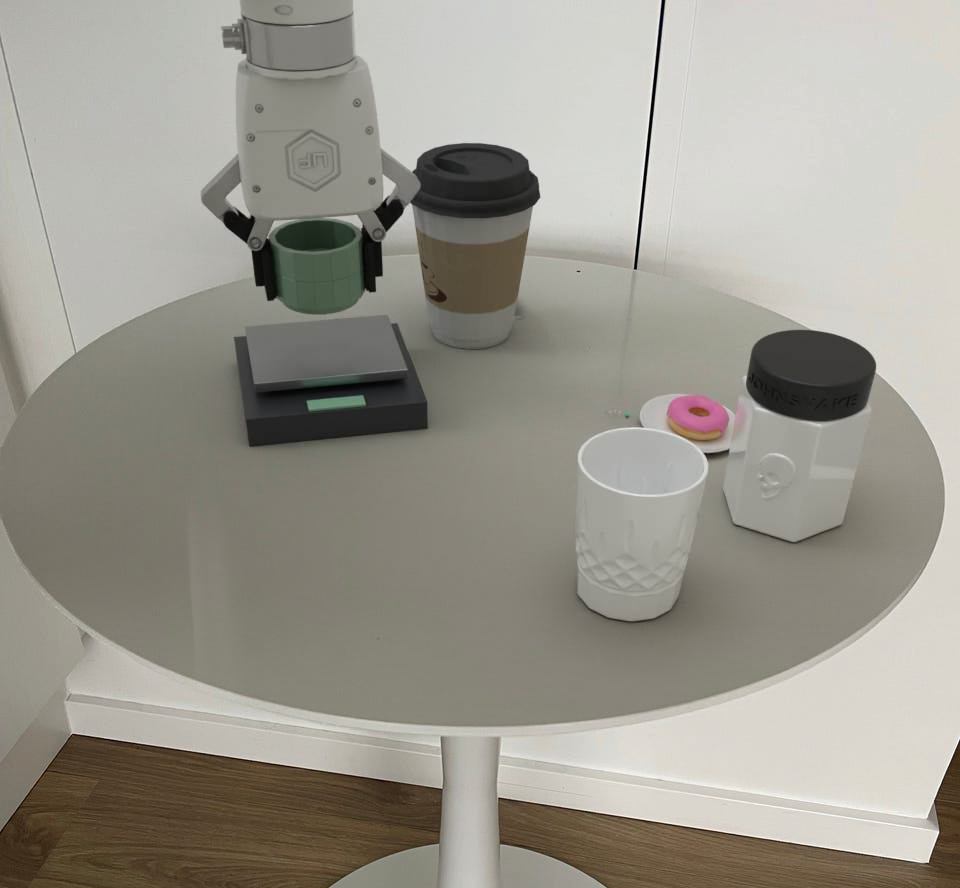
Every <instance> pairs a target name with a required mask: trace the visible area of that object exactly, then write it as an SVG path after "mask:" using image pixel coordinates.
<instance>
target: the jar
mask: <svg viewBox="0 0 960 888" xmlns="http://www.w3.org/2000/svg"><path fill="white" fill-rule="evenodd" d="M876 372H877V362H876V360H875V357H874V356H873V355H872V353H871V352H870V350H868V349H867V348H865V347H864V346H862V345H861V344H860V343H858V342H856V341H854V340H852V339H849V338H847V337H845V336H842V335H838V334H835V333H833V332H832V333H831V332H827V331H820V330H811V329H788V330H787V329H786V330H781V331H776V332H773V333H770V334H767V335H765V336H762V337H761V338H760V339H759V340H757V341H756V342H755V343H754V344H753V346H752V349H751V351H750V358H749V364H748V368H747V374H745V375H743V376H742V377H741V382H740V389H739V394H738V400H737V405H736V410H735V411H736V412H735V415H736V416H735V422H734V428H733V433H732V439H731V445H730V449H728V450H729V451H728V456H727V462H726V468H725V474H724V479H723V485H722V491H723V493H724V497H725V500H726V504H727V507H728V511H729V515H730V517H731V521H732V523H733V525H736V526H739V527H742V528H745V529H749V530H752V531H756V532H759V533H761V534H765V535H768V536H772V537H774V538H778V539H781V540H784V541H787V542H790V543H797V542H800V541H803V540H805V539H807V538H810V537H812V536H815V535H818V534H821V533H823V532H825V531H828V530H831V529H834V528H837V527H839V526H841V525H843V523H844V519H845V515H846V511H847V507H848V504H849V500H850V496H851V492H852V488H853V484H854V480H855V477H856V473H857V469H858V465H859V462H860V458H861V453H862V450H863V446H864V443H865V439H866V435H867V431H868V427H869V424H870V419H871V417H872V412H873V410H872V407H871V405H870V403H869V398H870V395H871V391H872V388H873V383H874V380H875V377H876V376H875V375H876Z"/></svg>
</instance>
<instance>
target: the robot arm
mask: <svg viewBox="0 0 960 888" xmlns="http://www.w3.org/2000/svg"><path fill="white" fill-rule="evenodd" d="M239 6H240V18H237V19H236V21H237V23H231V25H223V26H222V25H221V26H220V29H221V39H222V45H223V46H222V47H223V49H234V50H235V51H240V52H241V55H245V58H244V59H242V60H240V61H239V62H238V64H237V68H236V69H237V70H236V80H235V126H236V127H235V130H236V131H235V132H236V147H237V154H236V155H235V156H234V157H233V158H232V159H231V160H230V161H229V162H227V164H226V165H225V166H224V167H223V168H222V169H221V170H219V172H218V173H217V174H216V175H215V176H214V177H212V178H211V180H209V182H208V183H206V184H205V186H204V187H203V188H201V190H200V201H201V204H203V206H204V207H205V208H207V209H208V211H210V212H211V213H212V215H214V216H215V217H216V218H217V219H218V220H219V221H220V222H222V224H223V225H224V227H225V228H226V229H227V230H229V231H230V232H231V233H233V234H234V235H235V236H236V237H237V238H239V239H240V240H241V241H242V242H244V243H245V244H246V245H247V247H248V249H250V252H251V258H252V259H251V260H252V268H253V277H254V284H255V287H257V288H258V287H264V291H265V296H266V301H267V302H272V301H275V299H277V298H276V290H275V280H274V271H273V261H272V252H271V248H270V243H269V234H270V231H271V229H272V227H273V225H274V222H277V221H295V220H300V219H311V218H335V217H351V216H357V217H358V219H359V220H360V222H361V226H362V227H361V228H360V230H361V232H362V235H363V250H364V270H365V288H366V289H365V292H368V293H369V294H371V293H377V282H376V281H377V279H376V278H379V277H381V278H382V277H383V276H384V268H383V266H384V265H383V244H382V243H383V241H384V240H385V238H386V236H387V233H388V231H389V230H390V229H391V228H392V227H393V226H394V225H395V224H396V222H397V221H398V220H400V218H401V217H402V216H403V215H404V211H405V209H406V207H407V206H409V205H410V204H411V203H410V202H411V201H412V199H413V198H414V196H415V195H416V194H417V192H418V191H419V190H420V188H421V184H420V181H419V179H418V177H417V176H416V175H415V174H414V173H413V172H412V171H411V169H409V168H407V167H406V166H405V165H404V164H402V163H401V162H399V161H398V160H397V159H396V158H394V157H393V156H392V155H391V154H389V153H388V152H386V151H385V150H384V149H383V148H381V138H380V129H379V120H378V112H377V104H376V97H375V92H374V87H373V80H372V77H371V73H370V69H369V65H368V63H367V61H365V60H364V58H362V57H361V56H359V55H357V54H356V53H357V51H356V34H355V33H356V32H355V16H354V15H355V14H354V12H355V11H354V0H239ZM384 177H386V178H387V179H388V180H390V181H391V182H392V183H394V184H395V186H394V188H393V189H392V192H391V193H390V194H389V195H388V196H387V197H385V198H384ZM239 185H241V192H242V197H243V201H244V205H245V206H246V209H247V211H248V213H249V216H246V215H245V214H244V212H241V210H239V209H238V208H237V207H235V206H234V205H233V204H231V203H230V201H229V200H228V199H227V196H228V195H229V194H231V192H233V191H234V189H236V187H237V186H239Z"/></svg>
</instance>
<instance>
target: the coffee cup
mask: <svg viewBox="0 0 960 888" xmlns="http://www.w3.org/2000/svg"><path fill="white" fill-rule="evenodd" d="M411 172H413V173H414V174H415V175H416V176H417V177H418V179H419V181H420V184H421V188H420V190H419V191H418V192H417V194H416V195H415V196H414V198H413V199H412V201H411V202H410V203H409V204H411V208H412V214H413V219H414V220H413V222H414V228H415V234H416V241H417V248H418V255H419V262H420V268H421V275H422V282H423V289H424V296H425V302H426V310H427V317H428V324H429V326H430V327H431V331H432V335H433V336H434V338H435V339H436V340H437V341H438V342H440V343H442V344H443V345H446V346H449V347H452V348H456V349H462V348H463V350H480V349H488V348H492V347H495V346H498V345H500V344H502V343H503V342H505V341H506V340H507V339H508V338H509V336H510V334H511V329H512V327H513V326H514V323H515V317H516V309H517V304H518V299H519V292H520V286H521V280H522V274H523V270H524V269H523V268H524V263H525V256H526V251H527V246H528V245H527V244H528V237H529V232H530V227H531V220H532V215H533V208H534V206H536V204H537V203H538V202H539V200H540V199H541V192H540V183H539V177H538V176H537V175H536V174H534V172H532V171H531V170H530V162H529V159H528V158H527V157H526V156H524V154H522V152H519V151H517V150H515V149H513V148H510V147H507V146H506V147H505V146H503V145H498V144H491V143H483V142H462V143H461V142H460V143H451V144H450V143H449V144H444V145H440V146H436V147H433V148H431V149H428V150H427V151H424V152H423V153H422V154H421V155H420V156H419V157H418V158H417V159H416V166H415V169H413V170H412V171H411Z"/></svg>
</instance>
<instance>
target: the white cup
mask: <svg viewBox="0 0 960 888" xmlns="http://www.w3.org/2000/svg"><path fill="white" fill-rule="evenodd" d="M576 460H577V463H576V464H577V465H576V466H577V467H576V500H575V534H574V535H575V556H576V591H577V595H578V597H579V598H580V599H581V600H582V602H583V603H584V604H585V605H586V606H587V608H589V609H590V610H591V611H594V612H596V613H598V614H600V615H602V616H604V617H606V618H608V619H614V620H620V621H625V622H637V621H645V620H646V621H647V620H654V619H656V618H658V617H659V616H661V615H663V614H665V613H667V612H669V611H670V610H672V608H673V606H674V605H675V603H676V602H677V600H678V598H679V597H680V592H681V589H682V582H683V578H684V572H685V570H686V567H687V564H688V562H689V561H688V560H689V557H690V553H691V548H692V544H693V541H694V537H695V533H696V528H697V524H698V519H699V514H700V510H701V505H702V500H703V495H704V492H705V487H706V481H707V478H708V473H709V462H708V459H707V456H706V455H705V453H703V452H702V451H701V450H700V449H699V448H698V447H697V446H696V445H695V444H693V443H692V442H690V441H688V440H687V439H685V438H683V437H681V436H678V435H676V434H673V433H670V432H666V431H662V430H658V429H651V428H644V427H640V426H639V427H637V426H632V427H630V426H629V427H619V428H612V429H608V430H606V431H602V432H600V433H597V434H595V435H593V436H591V437H590V438H589V439H587V440H586V441H584V443H583V444H582V445H581V446H580V448H579V450H578V452H577V459H576Z"/></svg>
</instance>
